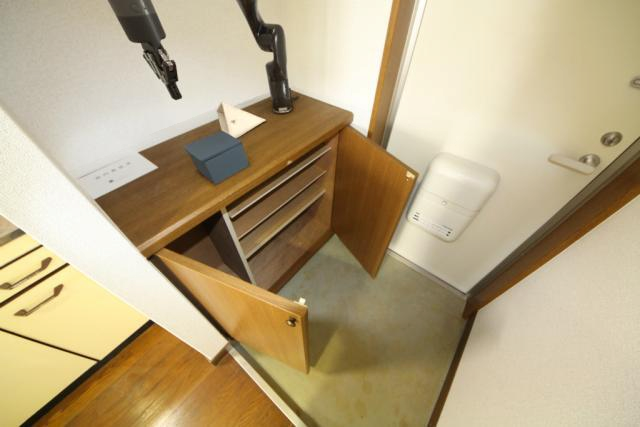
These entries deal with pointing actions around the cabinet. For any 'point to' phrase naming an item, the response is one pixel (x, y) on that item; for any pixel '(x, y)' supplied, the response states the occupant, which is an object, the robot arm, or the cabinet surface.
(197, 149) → the lid
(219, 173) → the chest
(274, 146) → the cabinet surface
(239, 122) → the white triangular panel
